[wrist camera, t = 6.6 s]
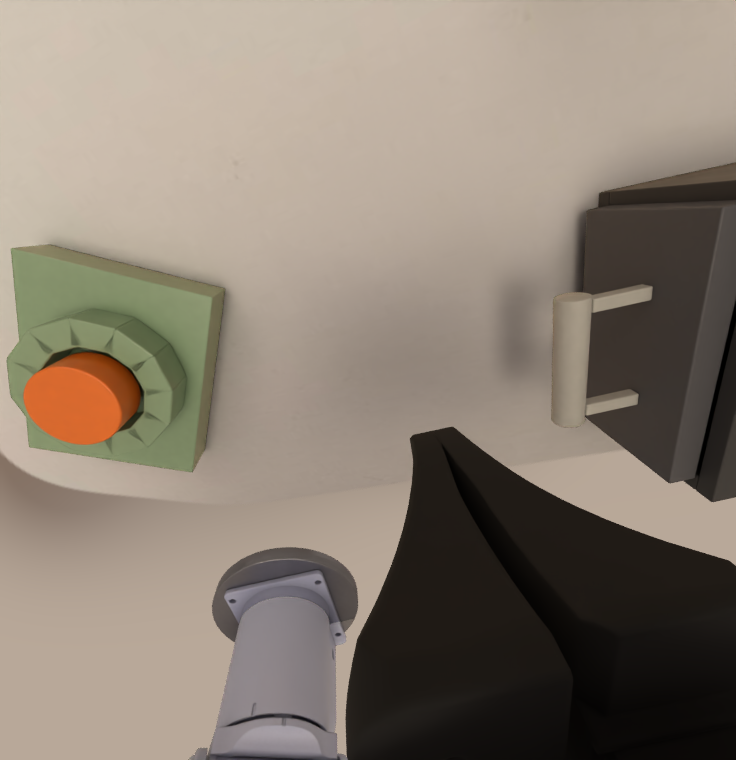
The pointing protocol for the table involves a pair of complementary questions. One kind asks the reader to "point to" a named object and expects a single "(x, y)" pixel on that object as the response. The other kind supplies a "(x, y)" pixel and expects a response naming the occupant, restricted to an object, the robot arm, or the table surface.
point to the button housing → (121, 347)
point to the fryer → (732, 412)
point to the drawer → (649, 329)
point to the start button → (82, 398)
